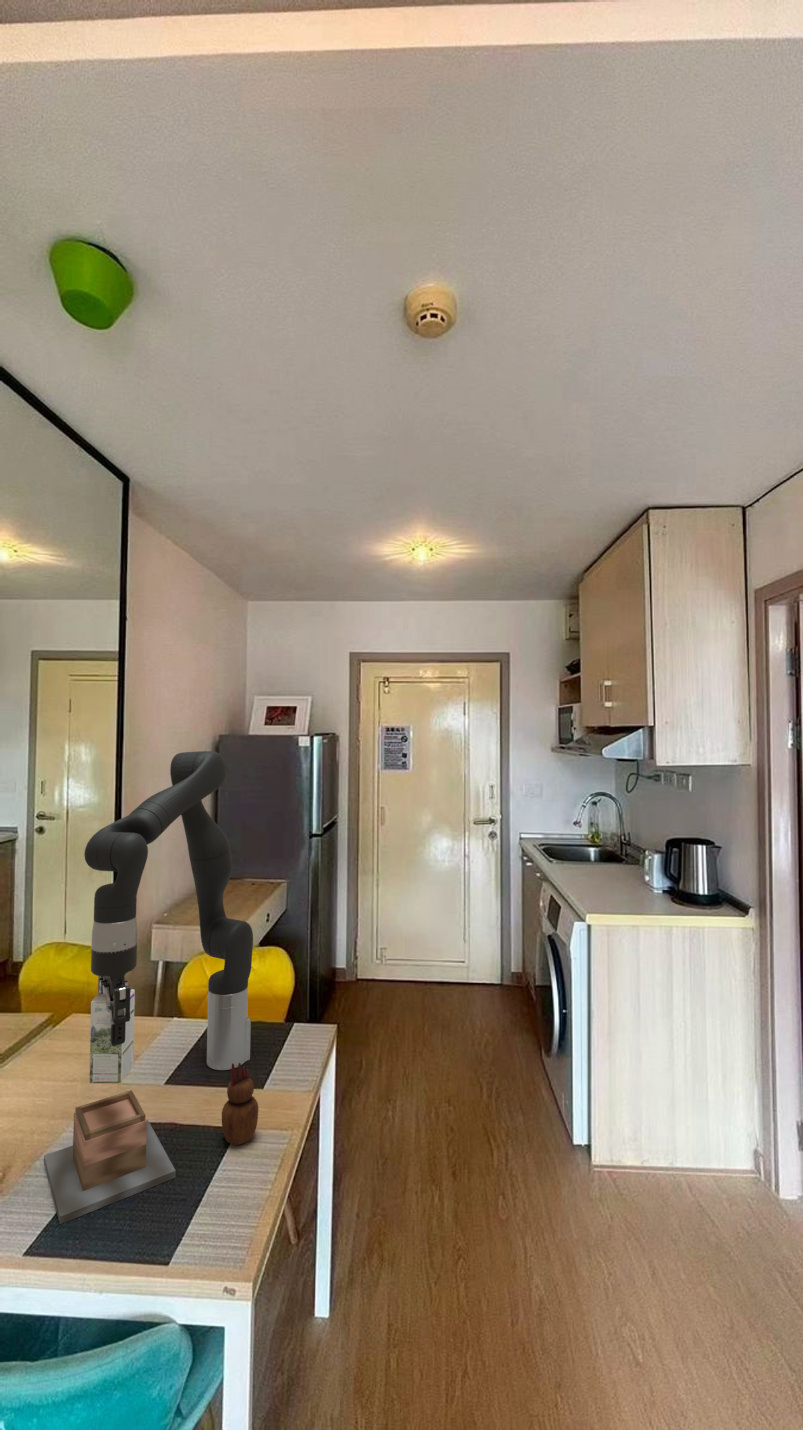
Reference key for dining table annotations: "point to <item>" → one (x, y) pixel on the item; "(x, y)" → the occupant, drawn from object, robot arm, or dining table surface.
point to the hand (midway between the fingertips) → (112, 1034)
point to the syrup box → (109, 1044)
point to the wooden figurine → (240, 1108)
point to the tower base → (105, 1191)
